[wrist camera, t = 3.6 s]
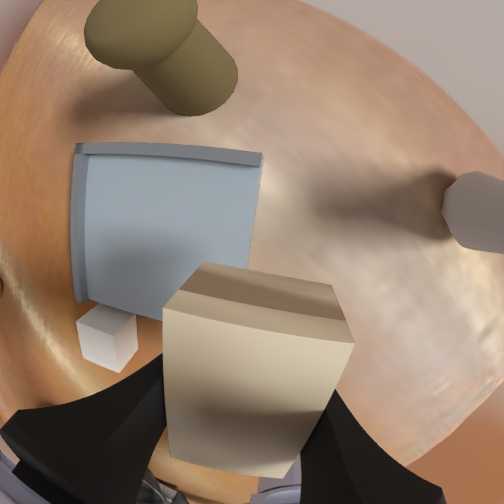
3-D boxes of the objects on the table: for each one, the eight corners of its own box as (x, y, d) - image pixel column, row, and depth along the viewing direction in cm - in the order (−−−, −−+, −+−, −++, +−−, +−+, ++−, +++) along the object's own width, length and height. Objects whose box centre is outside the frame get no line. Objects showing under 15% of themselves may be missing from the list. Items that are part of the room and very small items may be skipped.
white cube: (138, 348, 23) (119, 373, 19) (104, 336, 23) (83, 358, 19) (136, 313, 22) (113, 335, 18) (100, 302, 22) (75, 321, 18)
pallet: (285, 417, 12) (282, 478, 9) (192, 400, 13) (170, 457, 9) (331, 284, 10) (354, 343, 6) (204, 261, 10) (163, 307, 7)
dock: (237, 327, 21) (232, 345, 19) (90, 290, 22) (75, 301, 19) (264, 157, 17) (261, 153, 15) (94, 145, 18) (75, 143, 16)
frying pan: (60, 444, 35) (47, 462, 29) (41, 380, 28) (18, 404, 22) (245, 521, 35) (241, 544, 29) (303, 490, 29) (302, 523, 22)
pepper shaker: (156, 59, 16) (71, -5, 5) (231, 38, 15) (189, -59, 5) (163, 125, 17) (59, 89, 7) (244, 105, 17) (200, 24, 6)
